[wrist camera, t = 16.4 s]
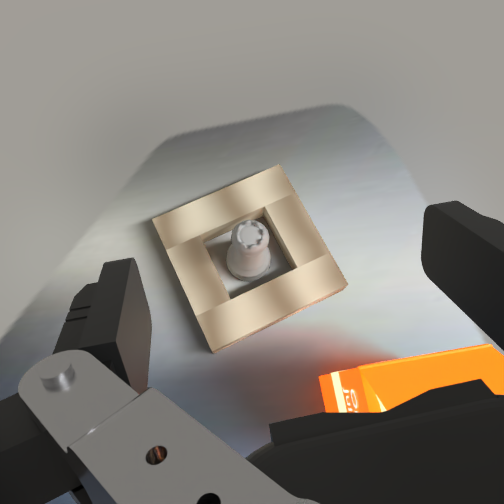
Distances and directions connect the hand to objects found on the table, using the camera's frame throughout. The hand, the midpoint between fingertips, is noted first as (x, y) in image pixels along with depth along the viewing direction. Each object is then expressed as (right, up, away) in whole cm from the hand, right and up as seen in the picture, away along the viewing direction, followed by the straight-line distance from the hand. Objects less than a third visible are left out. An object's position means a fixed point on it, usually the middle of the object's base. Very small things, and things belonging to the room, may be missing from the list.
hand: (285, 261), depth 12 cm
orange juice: (+10, -14, +28) cm, 33 cm away
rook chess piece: (-1, -1, +32) cm, 32 cm away
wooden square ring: (-1, 0, +32) cm, 32 cm away
